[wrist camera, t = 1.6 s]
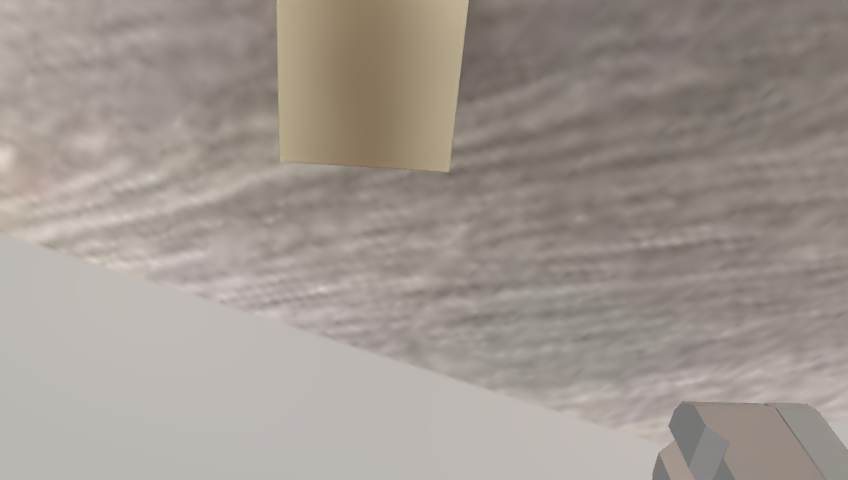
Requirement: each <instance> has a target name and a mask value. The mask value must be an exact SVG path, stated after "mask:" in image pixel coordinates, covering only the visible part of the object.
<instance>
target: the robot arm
mask: <svg viewBox="0 0 848 480" xmlns="http://www.w3.org/2000/svg"><path fill="white" fill-rule="evenodd" d="M669 428H670V430H671V432H672V434H673V436H674V438H675V441H673V442H672V443H671V444H669V445H668V446H667V447H666V448H664V449H663V450H662V451H660V452H659V454H658V457H657V460H656V464H655V467H654V470H653V480H848V450H847V449H846V447H845V446H844V444H843V443H842V442H841V441H840V439H839V438H838V437H837V435H836V434H835V433H834V431H833V430H832V429H831V427H830V426H829V425H828V423H827V422H826V421H825V419H824V418H823V417H822V416H821V414H820V413H819V412H818V411H817V410H816V409H814V408H812V407H811V406H809V405H808V404H790V403H764V404H759V403H723V402H685V401H683V402H682V403H681V404H680V405H679V406H678V407H677V408H676V409H675V410H674V413H673V415H672V418H671V421H670V423H669Z"/></svg>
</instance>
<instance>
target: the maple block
mask: <svg viewBox="0 0 848 480" xmlns="http://www.w3.org/2000/svg"><path fill="white" fill-rule="evenodd" d="M468 2H469V0H276V3H277V58H278V113H279V162H295V163H312V164H328V165H344V166H360V167H376V168H392V169H409V170H425V171H441V172H449V168H450V159H451V150H452V142H453V133H454V124H455V116H456V107H457V98H458V89H459V81H460V72H461V63H462V55H463V46H464V37H465V29H466V20H467V11H468Z"/></svg>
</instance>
